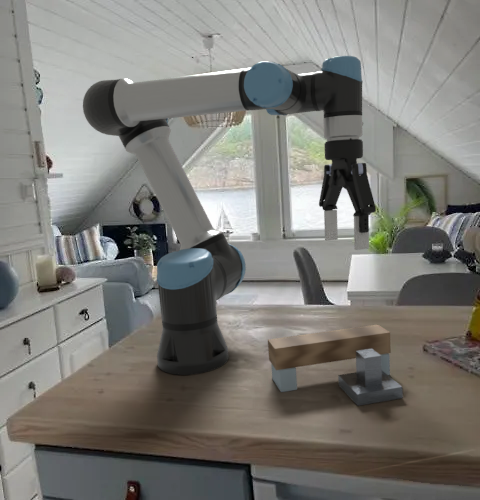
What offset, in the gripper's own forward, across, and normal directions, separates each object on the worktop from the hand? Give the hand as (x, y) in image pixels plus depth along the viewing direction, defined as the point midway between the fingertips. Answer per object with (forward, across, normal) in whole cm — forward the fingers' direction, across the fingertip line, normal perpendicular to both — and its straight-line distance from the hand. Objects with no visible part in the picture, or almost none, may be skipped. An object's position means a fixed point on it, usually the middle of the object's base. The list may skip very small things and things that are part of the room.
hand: (345, 244), depth 101 cm
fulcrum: (+22, -20, +6) cm, 31 cm away
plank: (+19, -12, +10) cm, 24 cm away
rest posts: (+23, -12, +9) cm, 27 cm away
